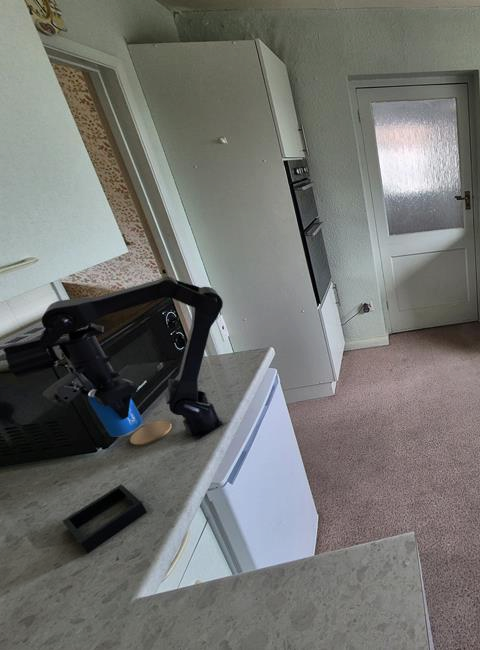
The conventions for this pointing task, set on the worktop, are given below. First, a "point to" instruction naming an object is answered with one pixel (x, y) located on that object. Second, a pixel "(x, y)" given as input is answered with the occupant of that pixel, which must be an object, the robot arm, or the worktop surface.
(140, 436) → the coaster
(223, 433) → the worktop surface
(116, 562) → the worktop surface
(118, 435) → the beverage can
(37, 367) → the robot arm
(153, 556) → the worktop surface
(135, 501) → the black rectangular open frame
